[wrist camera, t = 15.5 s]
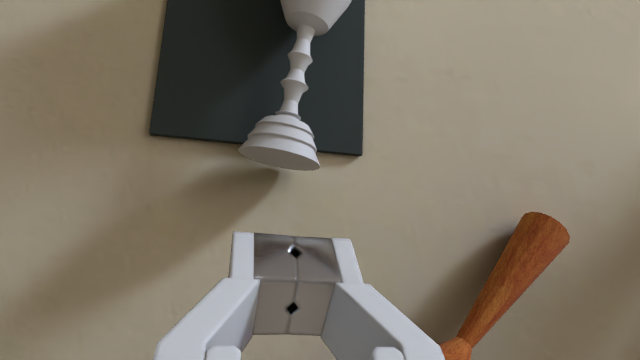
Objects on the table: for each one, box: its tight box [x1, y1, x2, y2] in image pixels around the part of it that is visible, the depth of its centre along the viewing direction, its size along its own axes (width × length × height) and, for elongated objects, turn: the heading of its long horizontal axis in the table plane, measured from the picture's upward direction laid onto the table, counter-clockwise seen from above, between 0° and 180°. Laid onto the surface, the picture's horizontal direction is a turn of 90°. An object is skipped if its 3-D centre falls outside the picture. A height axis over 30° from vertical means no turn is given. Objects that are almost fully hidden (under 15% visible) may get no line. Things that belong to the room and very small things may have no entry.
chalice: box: [238, 0, 352, 171], centre depth 27 cm, size 7×7×18 cm
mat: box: [149, 0, 365, 156], centre depth 30 cm, size 18×14×1 cm
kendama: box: [439, 212, 570, 360], centre depth 26 cm, size 6×6×20 cm
